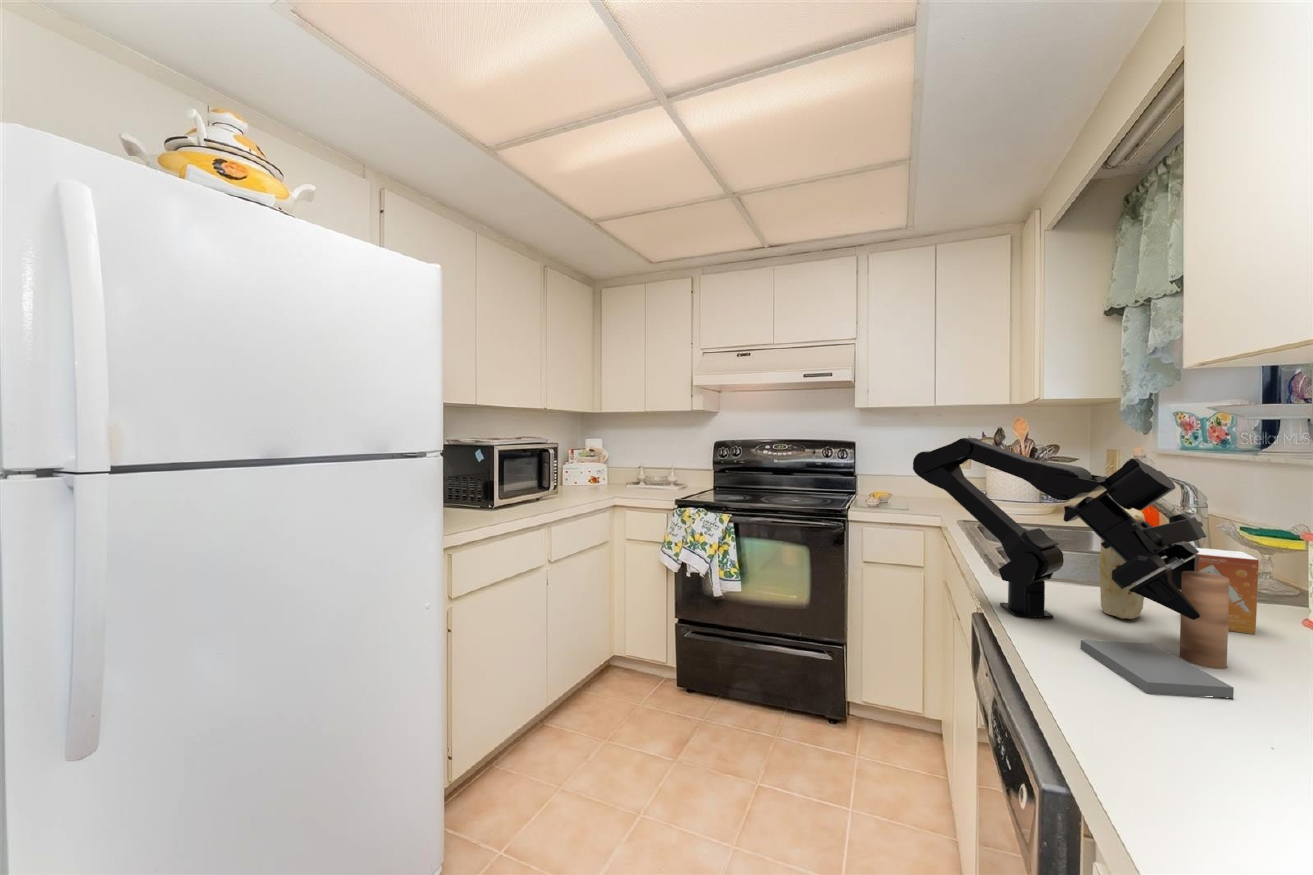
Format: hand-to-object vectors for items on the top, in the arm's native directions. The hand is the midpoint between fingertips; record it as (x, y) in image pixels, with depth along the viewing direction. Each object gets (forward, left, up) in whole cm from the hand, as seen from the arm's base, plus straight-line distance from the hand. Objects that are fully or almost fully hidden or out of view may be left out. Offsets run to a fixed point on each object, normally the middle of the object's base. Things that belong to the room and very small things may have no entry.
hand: (1207, 612), depth 80 cm
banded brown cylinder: (0, 0, -7) cm, 8 cm away
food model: (-20, +1, -8) cm, 21 cm away
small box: (-17, +14, -8) cm, 23 cm away
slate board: (+5, -11, -7) cm, 14 cm away
